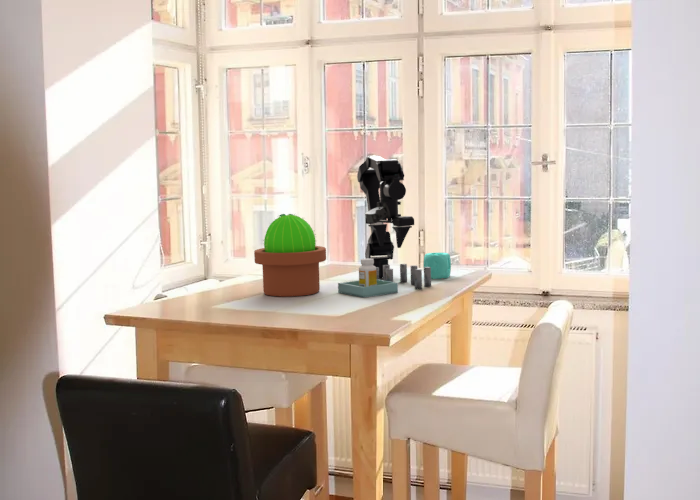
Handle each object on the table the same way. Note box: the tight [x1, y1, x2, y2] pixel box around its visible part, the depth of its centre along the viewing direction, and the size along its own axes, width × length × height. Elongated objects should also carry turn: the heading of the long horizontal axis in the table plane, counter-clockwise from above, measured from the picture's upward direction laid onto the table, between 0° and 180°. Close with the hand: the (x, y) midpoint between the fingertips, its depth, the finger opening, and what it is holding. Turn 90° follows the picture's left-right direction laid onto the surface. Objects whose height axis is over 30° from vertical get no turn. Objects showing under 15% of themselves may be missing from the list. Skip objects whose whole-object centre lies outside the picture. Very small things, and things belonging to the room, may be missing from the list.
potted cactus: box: [253, 213, 327, 298], centre depth 275 cm, size 22×22×25 cm
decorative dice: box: [423, 252, 452, 280], centre depth 300 cm, size 8×8×8 cm
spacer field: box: [376, 263, 432, 290], centre depth 282 cm, size 18×14×6 cm
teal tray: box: [337, 279, 399, 299], centre depth 272 cm, size 13×13×3 cm
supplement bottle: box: [358, 257, 377, 287], centre depth 271 cm, size 5×5×10 cm
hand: (390, 246), depth 288 cm, fingers open, 9 cm apart
